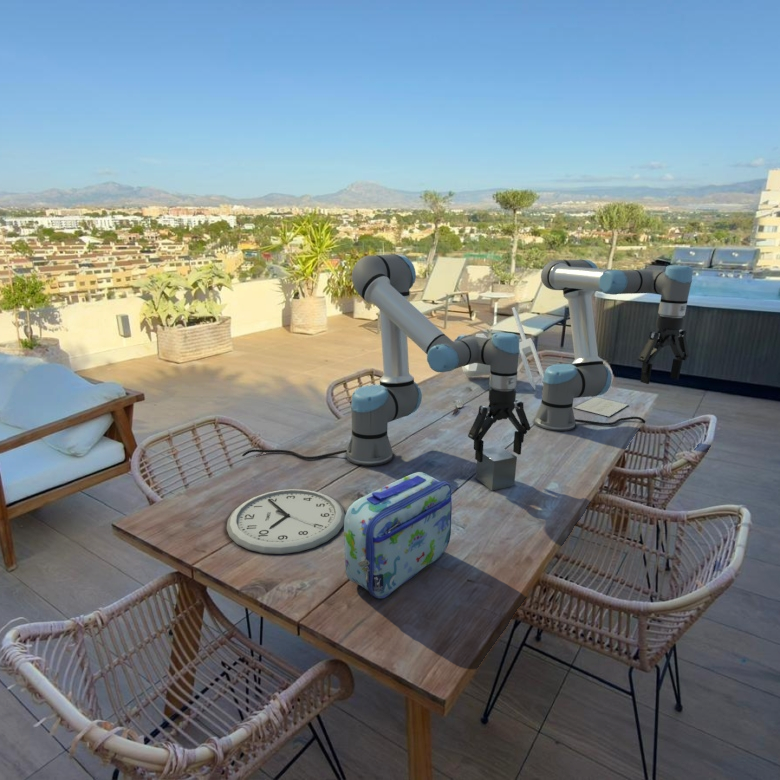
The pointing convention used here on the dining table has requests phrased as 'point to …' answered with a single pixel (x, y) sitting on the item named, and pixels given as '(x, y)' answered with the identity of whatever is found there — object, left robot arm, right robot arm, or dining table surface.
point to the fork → (458, 407)
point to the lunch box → (397, 532)
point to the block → (496, 468)
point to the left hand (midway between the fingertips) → (498, 456)
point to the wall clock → (285, 521)
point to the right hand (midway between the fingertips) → (659, 380)
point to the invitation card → (601, 406)
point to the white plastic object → (524, 348)
